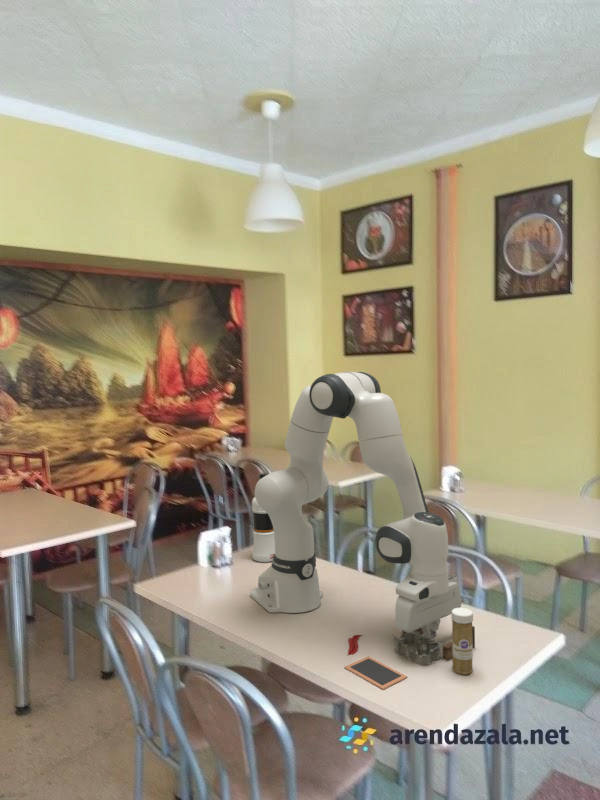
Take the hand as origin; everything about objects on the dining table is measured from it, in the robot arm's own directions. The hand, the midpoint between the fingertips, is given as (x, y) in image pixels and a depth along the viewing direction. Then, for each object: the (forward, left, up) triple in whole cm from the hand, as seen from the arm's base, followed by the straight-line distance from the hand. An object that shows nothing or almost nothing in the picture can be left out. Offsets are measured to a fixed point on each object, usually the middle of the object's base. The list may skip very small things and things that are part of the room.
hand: (430, 638), depth 146 cm
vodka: (-80, +8, -2) cm, 80 cm away
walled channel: (0, +3, -2) cm, 3 cm away
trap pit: (0, -18, -2) cm, 19 cm away
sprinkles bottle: (+12, -3, -2) cm, 12 cm away
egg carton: (0, -5, -2) cm, 6 cm away
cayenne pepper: (-13, -13, -3) cm, 18 cm away
